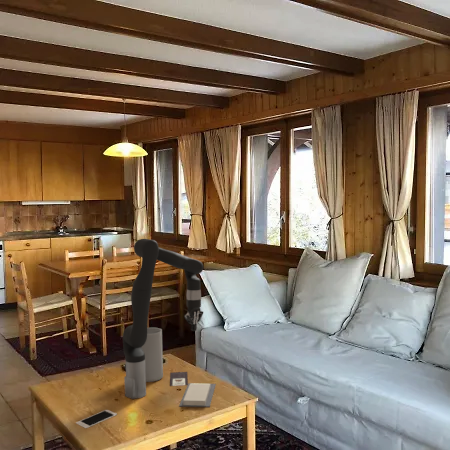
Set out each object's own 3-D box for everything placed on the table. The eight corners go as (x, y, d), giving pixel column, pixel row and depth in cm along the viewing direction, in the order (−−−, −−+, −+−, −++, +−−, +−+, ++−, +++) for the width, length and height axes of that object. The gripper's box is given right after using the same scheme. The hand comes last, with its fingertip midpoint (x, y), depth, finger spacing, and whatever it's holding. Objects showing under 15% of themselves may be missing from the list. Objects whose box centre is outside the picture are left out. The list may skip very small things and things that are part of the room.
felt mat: (209, 407, 223) (209, 406, 223) (179, 406, 225) (179, 405, 225) (215, 384, 249) (215, 383, 249) (188, 384, 250) (188, 383, 250)
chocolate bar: (187, 371, 266) (187, 384, 248) (187, 373, 266) (187, 386, 248) (170, 372, 265) (169, 385, 248) (170, 374, 266) (169, 387, 248)
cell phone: (75, 424, 211) (75, 422, 210) (106, 410, 223) (106, 409, 223) (86, 429, 205) (85, 428, 205) (117, 415, 218) (117, 414, 218)
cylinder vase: (143, 373, 267) (141, 327, 265) (165, 373, 265) (164, 327, 264) (135, 381, 255) (134, 334, 253) (159, 382, 253) (158, 334, 251)
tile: (190, 383, 244) (183, 400, 224) (210, 383, 243) (205, 400, 223) (190, 388, 244) (183, 405, 224) (210, 388, 243) (205, 406, 224)
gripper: (197, 295, 267) (197, 327, 267) (179, 299, 256) (179, 332, 257) (207, 297, 262) (207, 329, 263) (190, 300, 252) (190, 334, 253)
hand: (193, 330), depth 260 cm, fingers closed
